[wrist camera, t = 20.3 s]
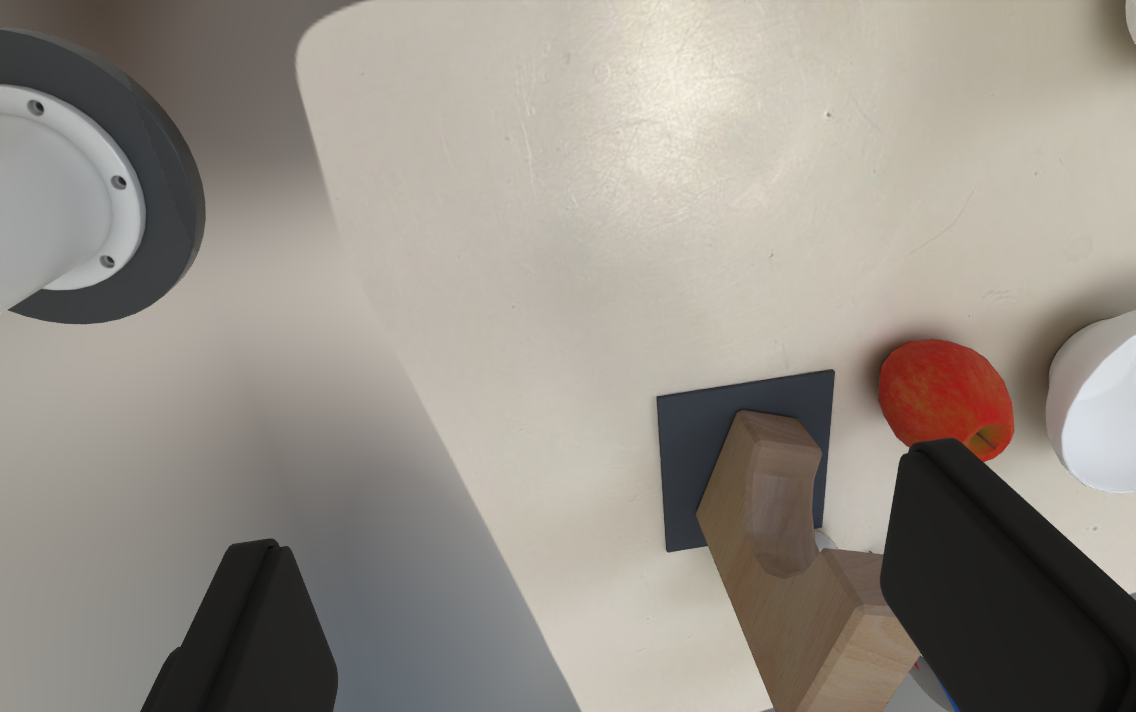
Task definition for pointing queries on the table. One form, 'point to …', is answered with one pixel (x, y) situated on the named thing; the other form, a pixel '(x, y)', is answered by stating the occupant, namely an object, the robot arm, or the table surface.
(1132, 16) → the piggy bank
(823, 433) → the mat
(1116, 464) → the bowl
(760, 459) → the decorative block
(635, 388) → the table surface
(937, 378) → the apple
